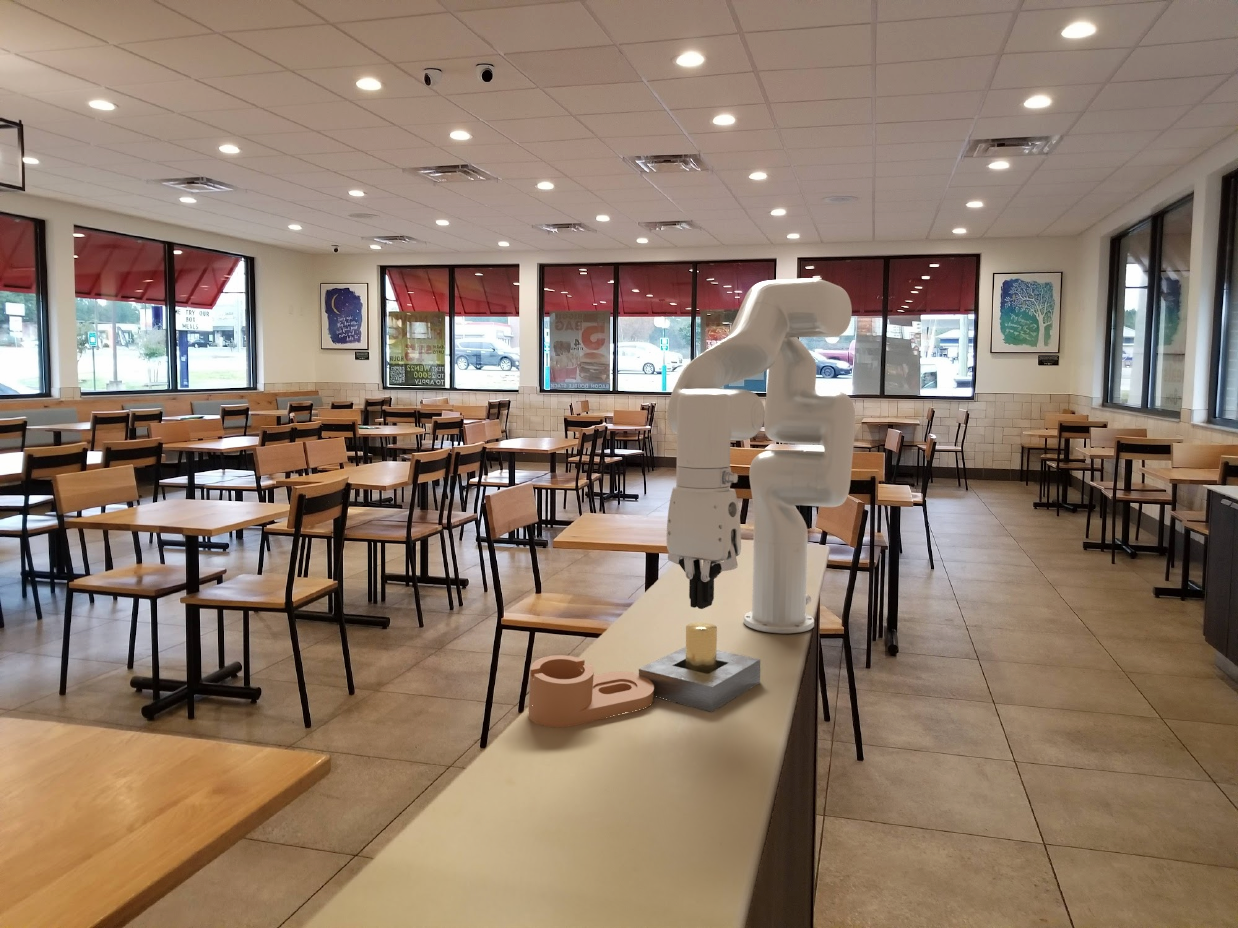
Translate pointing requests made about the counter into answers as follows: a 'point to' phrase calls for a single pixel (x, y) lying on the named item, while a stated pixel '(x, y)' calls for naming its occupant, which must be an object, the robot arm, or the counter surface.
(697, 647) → the gold rounded cylinder
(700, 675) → the plate
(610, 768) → the counter surface
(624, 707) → the bracket
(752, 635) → the counter surface
